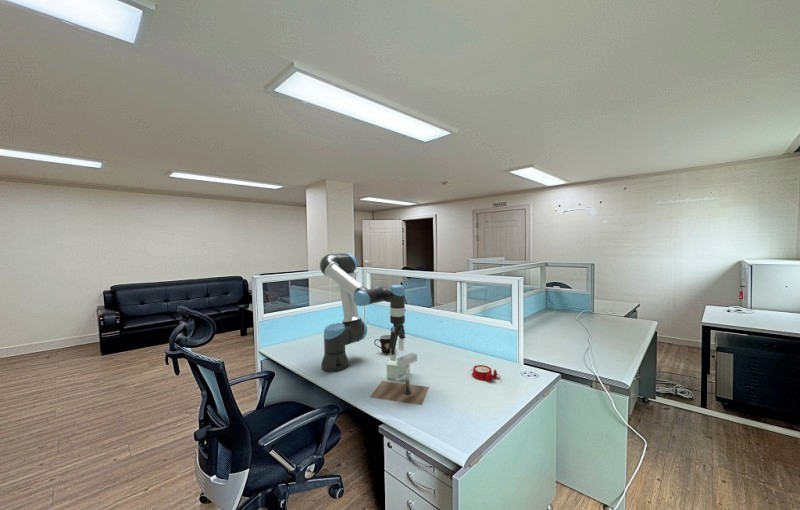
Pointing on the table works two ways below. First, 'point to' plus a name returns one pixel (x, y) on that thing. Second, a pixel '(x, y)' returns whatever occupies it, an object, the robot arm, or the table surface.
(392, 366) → the pale green block
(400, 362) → the grey t-shaped stand
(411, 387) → the board
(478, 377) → the alarm clock
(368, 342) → the table surface
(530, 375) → the table surface
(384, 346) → the coffee mug
